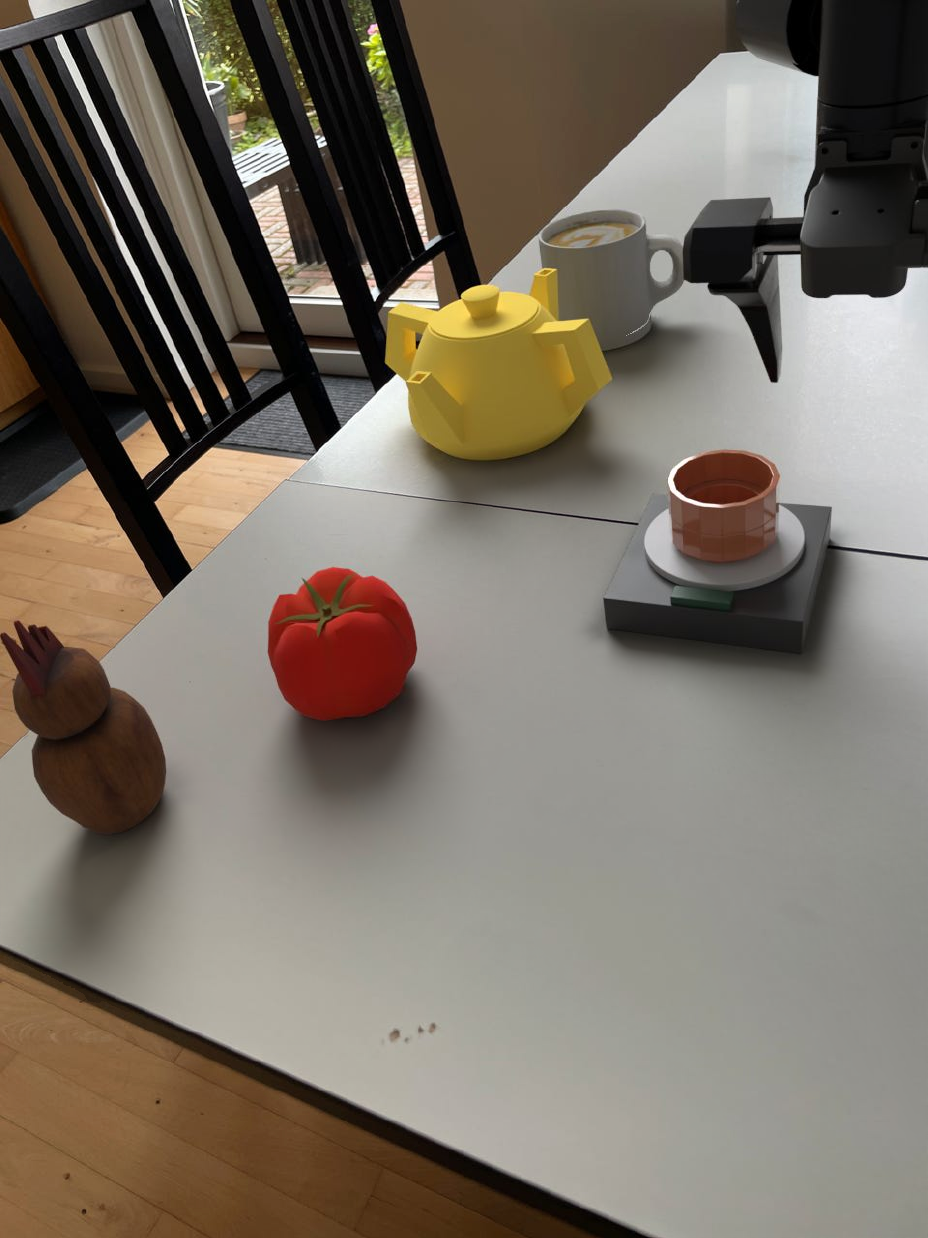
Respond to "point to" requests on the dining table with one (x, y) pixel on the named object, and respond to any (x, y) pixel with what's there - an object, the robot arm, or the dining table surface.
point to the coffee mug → (608, 271)
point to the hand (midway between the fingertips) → (856, 381)
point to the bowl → (723, 505)
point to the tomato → (341, 645)
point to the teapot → (495, 369)
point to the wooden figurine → (85, 734)
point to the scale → (721, 584)
